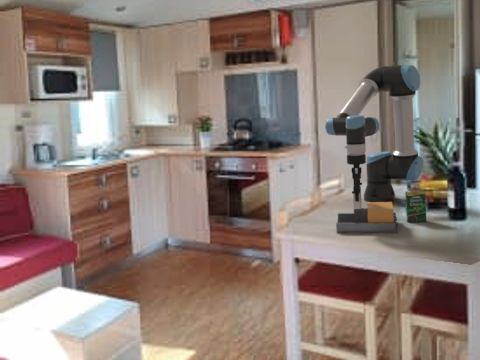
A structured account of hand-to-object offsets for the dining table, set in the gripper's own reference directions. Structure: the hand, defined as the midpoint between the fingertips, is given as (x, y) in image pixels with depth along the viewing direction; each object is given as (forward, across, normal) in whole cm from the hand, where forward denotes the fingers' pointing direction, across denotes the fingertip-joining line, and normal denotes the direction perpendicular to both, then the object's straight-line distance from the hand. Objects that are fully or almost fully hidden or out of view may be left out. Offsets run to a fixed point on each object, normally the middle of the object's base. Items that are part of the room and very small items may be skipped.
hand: (357, 204), depth 232 cm
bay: (+10, 0, +4) cm, 10 cm away
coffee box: (+10, -8, +24) cm, 27 cm away
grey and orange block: (+9, 0, +6) cm, 11 cm away
